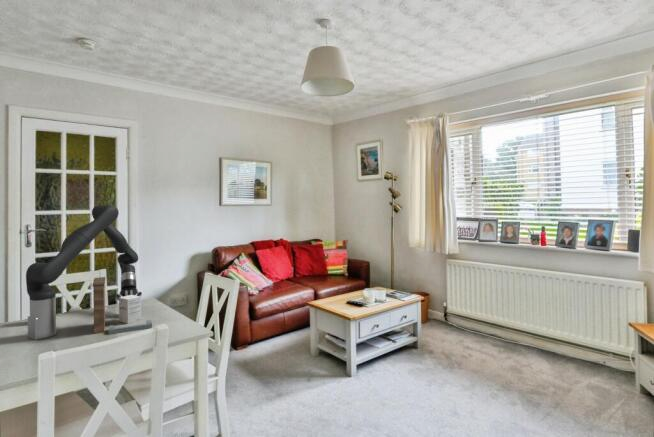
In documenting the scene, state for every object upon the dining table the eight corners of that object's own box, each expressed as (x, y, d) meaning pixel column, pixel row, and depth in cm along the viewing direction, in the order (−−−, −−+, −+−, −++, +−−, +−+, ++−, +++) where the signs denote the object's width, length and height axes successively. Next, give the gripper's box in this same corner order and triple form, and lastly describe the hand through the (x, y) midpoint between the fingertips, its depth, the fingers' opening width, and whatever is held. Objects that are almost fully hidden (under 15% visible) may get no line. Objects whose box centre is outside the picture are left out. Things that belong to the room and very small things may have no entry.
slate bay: (109, 329, 170) (109, 325, 170) (151, 323, 179) (150, 319, 179) (108, 334, 164) (108, 330, 164) (152, 328, 173) (152, 323, 173)
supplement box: (118, 321, 182) (118, 297, 181) (132, 317, 188) (132, 294, 188) (127, 324, 178) (127, 299, 178) (141, 320, 185) (141, 296, 184)
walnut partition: (104, 332, 166) (104, 283, 166) (93, 334, 164) (92, 284, 163) (105, 322, 181) (105, 277, 180) (95, 323, 178) (94, 277, 178)
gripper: (114, 279, 193) (114, 307, 183) (142, 277, 200) (143, 303, 190) (114, 287, 198) (114, 314, 188) (141, 284, 205) (143, 311, 195)
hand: (129, 309), depth 189 cm, fingers closed
